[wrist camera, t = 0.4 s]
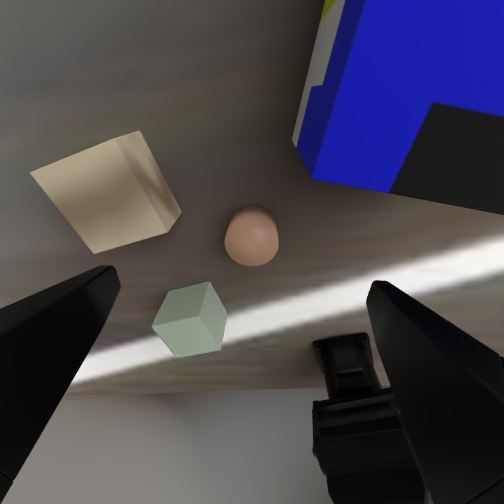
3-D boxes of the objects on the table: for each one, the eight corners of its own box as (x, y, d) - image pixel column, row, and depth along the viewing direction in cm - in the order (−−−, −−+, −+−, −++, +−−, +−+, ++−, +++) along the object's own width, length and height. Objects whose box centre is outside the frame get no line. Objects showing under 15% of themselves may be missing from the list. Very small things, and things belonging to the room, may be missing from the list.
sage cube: (227, 312, 29) (220, 350, 25) (189, 320, 30) (176, 358, 26) (209, 280, 27) (198, 316, 22) (168, 290, 28) (151, 326, 23)
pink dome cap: (283, 241, 24) (284, 259, 21) (239, 252, 24) (236, 271, 22) (268, 198, 21) (269, 212, 19) (221, 213, 22) (215, 229, 20)
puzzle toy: (291, 139, 19) (311, 178, 10) (339, -61, 13) (461, -320, 5) (418, 164, 19) (536, 221, 11) (514, -19, 14) (898, -192, 5)
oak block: (182, 211, 23) (167, 232, 19) (118, 231, 24) (93, 253, 21) (140, 129, 19) (113, 138, 16) (68, 159, 21) (29, 172, 17)
